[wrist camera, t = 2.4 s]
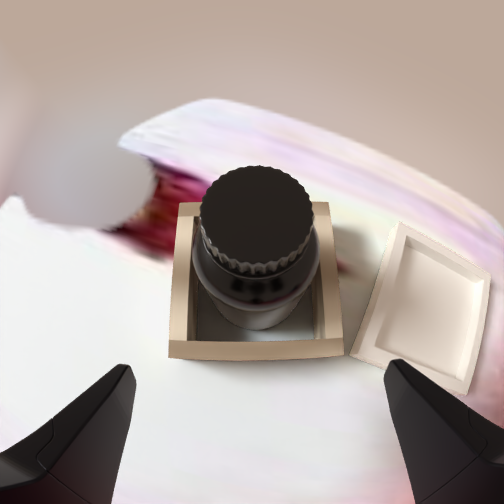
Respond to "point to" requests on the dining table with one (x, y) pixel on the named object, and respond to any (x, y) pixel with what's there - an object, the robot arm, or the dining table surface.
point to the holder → (187, 347)
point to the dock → (425, 310)
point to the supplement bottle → (256, 245)
